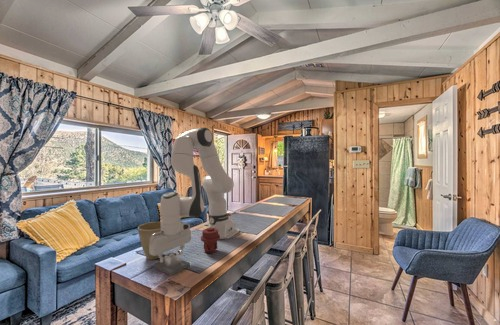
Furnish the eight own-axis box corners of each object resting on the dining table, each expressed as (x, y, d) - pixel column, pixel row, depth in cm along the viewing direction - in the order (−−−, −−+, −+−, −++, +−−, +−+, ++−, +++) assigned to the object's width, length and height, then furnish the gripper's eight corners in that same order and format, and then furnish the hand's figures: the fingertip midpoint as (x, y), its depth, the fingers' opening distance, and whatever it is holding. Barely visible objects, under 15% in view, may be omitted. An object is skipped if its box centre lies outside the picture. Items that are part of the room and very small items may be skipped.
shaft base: (172, 259, 110) (172, 248, 110) (189, 265, 103) (189, 254, 103) (153, 267, 102) (153, 255, 102) (171, 275, 95) (170, 262, 94)
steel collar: (181, 262, 103) (181, 253, 103) (170, 267, 98) (170, 259, 98) (173, 259, 107) (173, 250, 107) (162, 264, 102) (161, 255, 102)
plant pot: (150, 265, 103) (149, 232, 103) (132, 258, 112) (131, 227, 111) (176, 254, 116) (175, 223, 116) (158, 248, 124) (158, 219, 124)
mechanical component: (199, 255, 114) (203, 247, 124) (218, 255, 114) (221, 247, 124) (198, 231, 114) (203, 225, 124) (217, 231, 113) (221, 225, 123)
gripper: (154, 236, 92) (154, 269, 92) (192, 223, 109) (193, 251, 109) (145, 233, 95) (146, 265, 96) (184, 221, 112) (185, 248, 112)
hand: (171, 257), depth 102 cm, fingers open, 8 cm apart
